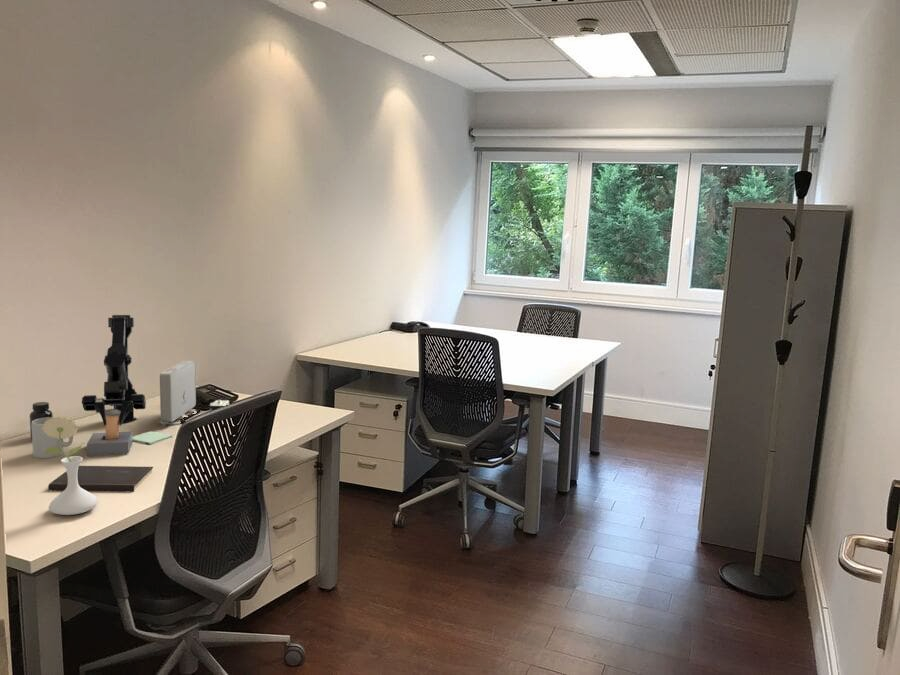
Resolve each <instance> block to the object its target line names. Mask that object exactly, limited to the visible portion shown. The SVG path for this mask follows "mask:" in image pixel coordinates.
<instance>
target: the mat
mask: <svg viewBox="0 0 900 675" xmlns="http://www.w3.org/2000/svg"><path fill="white" fill-rule="evenodd" d="M170 438H173V435H172V434H167V433H163V432H157V431H151V430H150V431H147V432H143V433H141V434H137V435H134V436H133V442H135V441H137V443H141V442H142V444H146V443H148V444H147V445H152V444H156V443H159V442H162V441H165V440H168V439H170ZM164 439H165V440H164Z"/></svg>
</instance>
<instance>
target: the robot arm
mask: <svg viewBox="0 0 900 675" xmlns="http://www.w3.org/2000/svg"><path fill="white" fill-rule="evenodd" d="M107 322H108V328H110V332H111V334H112V338H111V345H110V347H108V349H107V350H106V351H107V352H106V354H105V356H104V357H103V358H104V359H103V364H104V366H105V369H106V374H107V379H106V380H107V381H104V383H103V392H104V393H103V396H104V398H103V397H97V394H93V395H92V394H91V395H83V396H82V397H81V404H82V408H83V410H84V411H86V412H90V411H92V412H93V411H94V412H95V413H99V415H100V417H101V419H102V422H103V426H104V427H106V415H105V410H106V406H109V407H113V409H118V410H121V414H120V416H119V426H121V425H122V424H125V423H128V422H132V421H135V419H136V420H137V417H135V416H134V409H135V410H145V409H146V408H147V406H146V405H147V402H146V397H145V395H144V394H143V393H138V392H137V391H136V389H135V388H134V385H133V383H132V381H131V380H130V378H129V366H130V365H131V363H133V362H132V356H131V355H130V354H129V344H128V342H129V337H130V336H131V335H132V333H133V328H134V327H135V319H134V317H131V314H112V316H111V317H108V319H107Z"/></svg>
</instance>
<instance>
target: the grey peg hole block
mask: <svg viewBox="0 0 900 675" xmlns="http://www.w3.org/2000/svg"><path fill="white" fill-rule="evenodd" d="M133 437H134V436H133V431H119V437H118V439H114V440H105V432H93V433H92V434H91V436H90V438H89V439H88V441H87V443H86V456H87V457H94V456H95V457H98V456H112V455H114V454H118V455H128V454H127V453H130V451H131V449H132V447H133V444H132V443H133V442H134V441H133ZM130 448H131V449H130ZM114 456H115V455H114Z"/></svg>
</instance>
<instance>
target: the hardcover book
mask: <svg viewBox="0 0 900 675" xmlns="http://www.w3.org/2000/svg"><path fill="white" fill-rule="evenodd" d="M153 468H154V467H153V466H129V465H126V466H124V465H123V466H121V465H79V467H78V474H77V479H78V484H79V486H80V487H81V488H82V489H84V490H86V491H88V492H126V491H130V492H132V493H133V492H135V490H136V489H137V488H138V487H139V486H140V485H141V484H142V483H143V482H145V481H146V479H147V478H149V476H150V475H151V474H152V473H153ZM149 474H150V475H149ZM67 485H68V476H67V471H65V472H63V473H62V474H60V475H59V476H58V477H57V478H55V479H54V480H53V481H51V482H50V483H49V484H48V486H47V487H48V491H49V490H52V492H54V490H56V491H57V492H59V491H60V492H63V491H64V490H65V489H66V488H67ZM130 492H129V493H130ZM126 493H127V492H126Z"/></svg>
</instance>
